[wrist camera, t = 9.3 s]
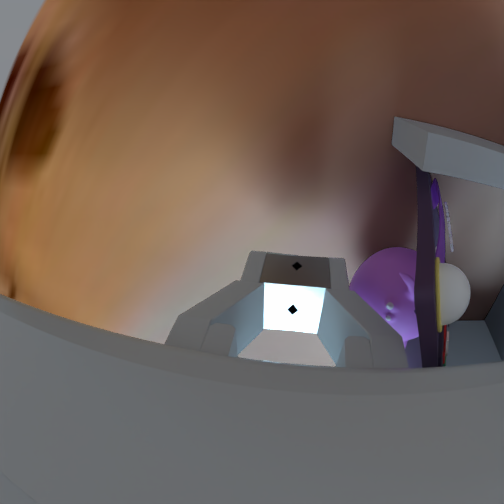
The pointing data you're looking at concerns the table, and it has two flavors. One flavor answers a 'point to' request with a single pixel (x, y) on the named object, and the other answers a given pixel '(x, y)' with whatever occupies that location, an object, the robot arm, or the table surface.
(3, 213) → the table surface
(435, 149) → the charging dock
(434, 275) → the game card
